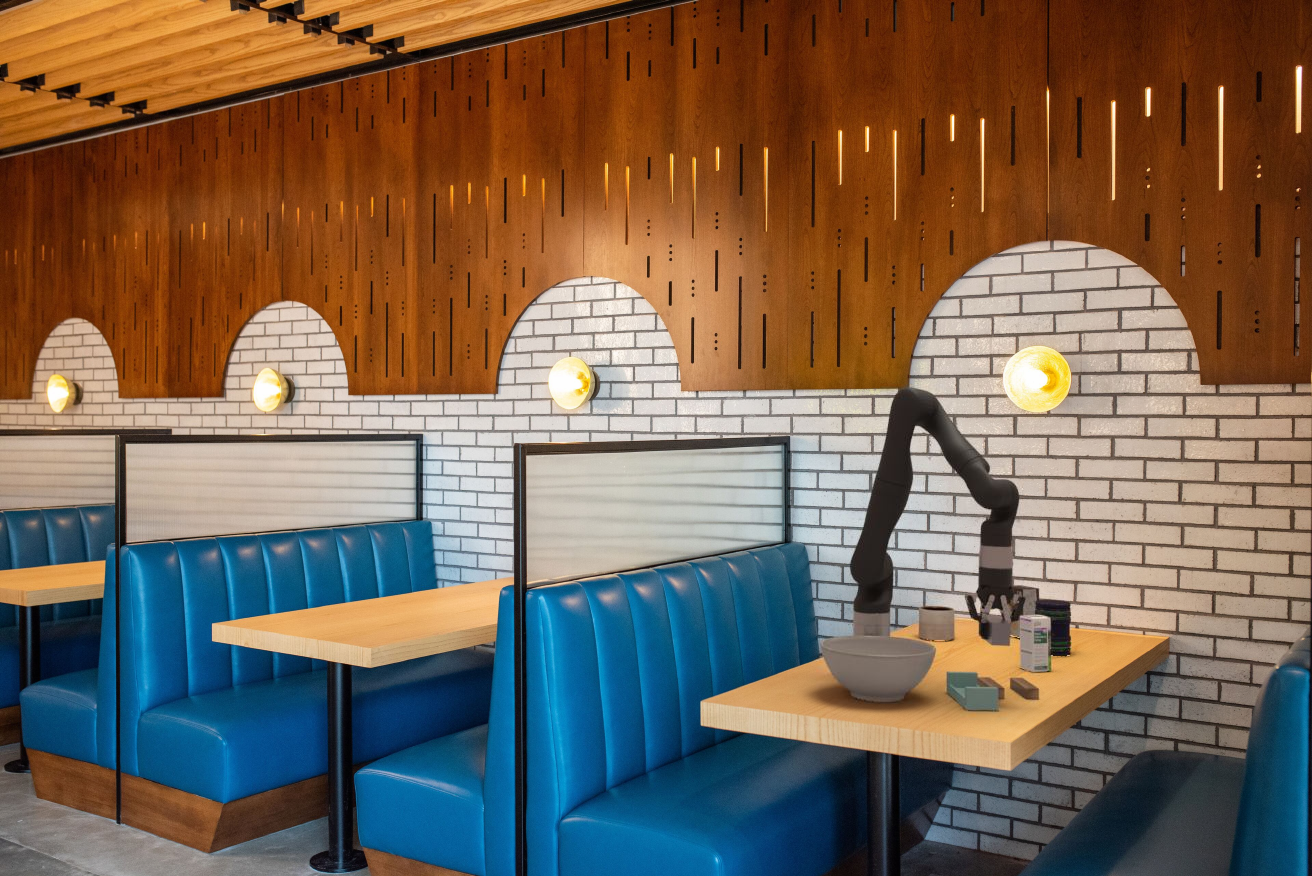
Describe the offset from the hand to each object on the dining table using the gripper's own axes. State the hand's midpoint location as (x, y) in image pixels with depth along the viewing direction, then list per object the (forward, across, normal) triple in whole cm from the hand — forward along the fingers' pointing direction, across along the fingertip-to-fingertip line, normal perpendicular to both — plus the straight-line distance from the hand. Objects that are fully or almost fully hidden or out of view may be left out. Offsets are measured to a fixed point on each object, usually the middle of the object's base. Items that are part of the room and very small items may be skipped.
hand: (994, 638), depth 239 cm
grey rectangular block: (0, 0, 0) cm, 0 cm away
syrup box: (+15, -23, -37) cm, 46 cm away
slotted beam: (+15, -6, -9) cm, 18 cm away
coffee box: (+15, -36, -88) cm, 96 cm away
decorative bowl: (+15, +26, -5) cm, 30 cm away
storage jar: (+15, -36, -61) cm, 72 cm away
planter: (+16, -8, -84) cm, 86 cm away
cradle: (+15, +5, 0) cm, 16 cm away
